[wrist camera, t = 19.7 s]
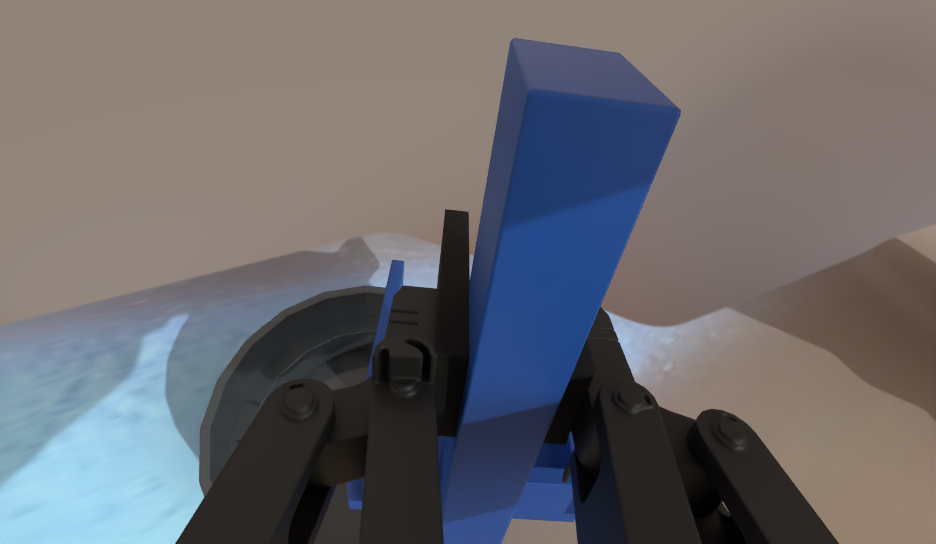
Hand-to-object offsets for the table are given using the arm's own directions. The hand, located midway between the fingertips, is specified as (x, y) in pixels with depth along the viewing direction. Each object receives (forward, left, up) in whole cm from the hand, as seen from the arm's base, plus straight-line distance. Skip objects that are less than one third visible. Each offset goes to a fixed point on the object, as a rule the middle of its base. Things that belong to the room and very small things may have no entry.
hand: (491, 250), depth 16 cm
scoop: (-1, +3, -7) cm, 8 cm away
